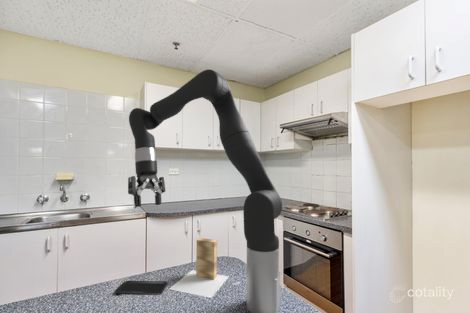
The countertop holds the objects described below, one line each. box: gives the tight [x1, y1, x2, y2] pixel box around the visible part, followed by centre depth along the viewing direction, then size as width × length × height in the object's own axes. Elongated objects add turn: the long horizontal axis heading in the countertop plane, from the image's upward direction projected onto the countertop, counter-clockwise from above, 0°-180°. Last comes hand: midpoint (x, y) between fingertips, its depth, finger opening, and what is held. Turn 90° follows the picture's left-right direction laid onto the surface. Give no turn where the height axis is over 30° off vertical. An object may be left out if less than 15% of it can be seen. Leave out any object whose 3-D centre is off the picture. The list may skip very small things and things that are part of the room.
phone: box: [114, 280, 169, 296], centre depth 79 cm, size 8×1×15 cm
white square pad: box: [169, 269, 230, 299], centre depth 83 cm, size 15×15×1 cm
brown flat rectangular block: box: [195, 237, 218, 280], centre depth 88 cm, size 7×2×13 cm, turn 70°
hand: (148, 205), depth 87 cm, fingers open, 8 cm apart
